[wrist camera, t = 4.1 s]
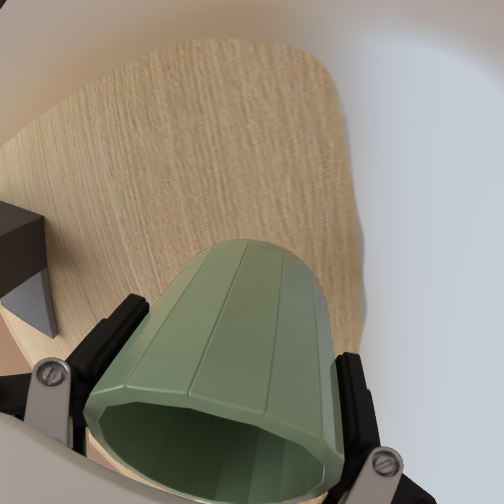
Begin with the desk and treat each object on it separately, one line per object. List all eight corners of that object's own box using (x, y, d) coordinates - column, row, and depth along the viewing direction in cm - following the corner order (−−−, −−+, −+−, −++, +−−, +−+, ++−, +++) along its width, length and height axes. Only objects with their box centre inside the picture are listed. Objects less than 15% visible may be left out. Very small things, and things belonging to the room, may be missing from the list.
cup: (186, 220, 12) (58, 337, 5) (348, 264, 12) (401, 429, 4) (171, 343, 15) (105, 466, 7) (297, 377, 14) (289, 516, 7)
